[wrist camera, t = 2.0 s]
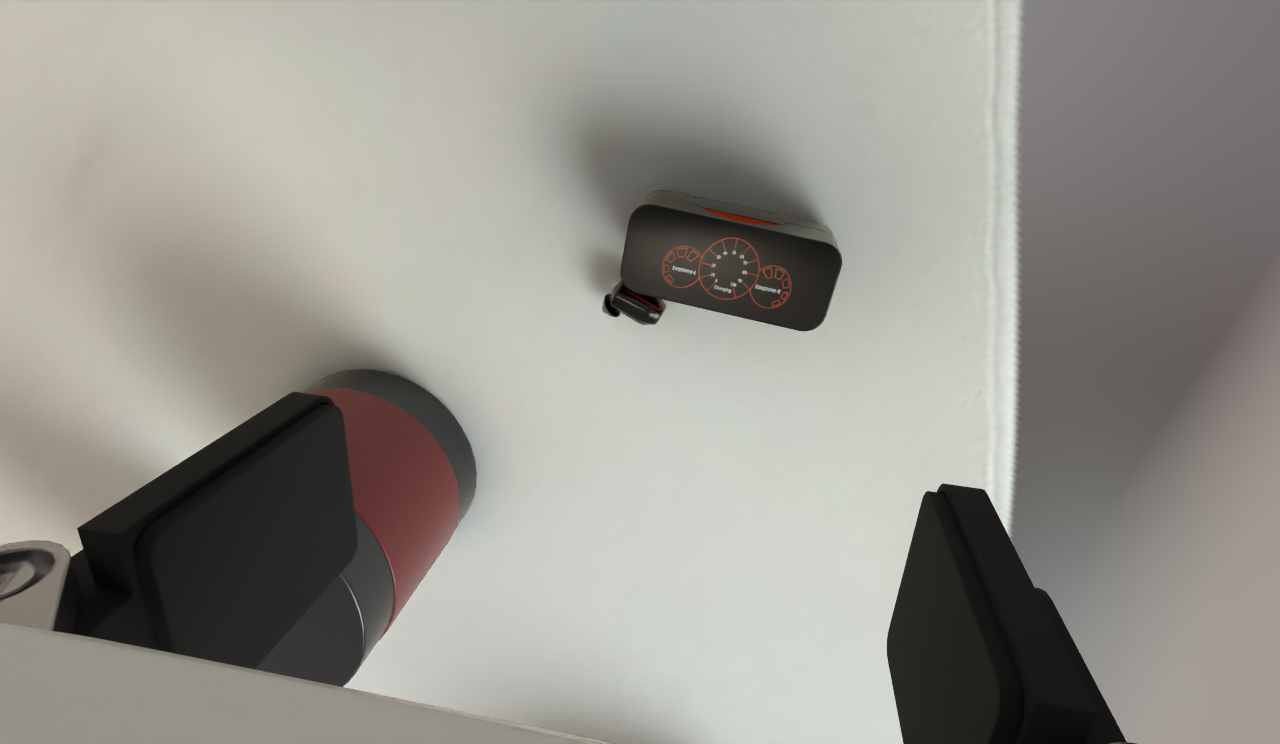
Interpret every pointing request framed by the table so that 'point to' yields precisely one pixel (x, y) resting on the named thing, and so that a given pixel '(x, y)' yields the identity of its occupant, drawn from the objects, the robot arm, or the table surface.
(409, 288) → the table surface
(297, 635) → the tin can
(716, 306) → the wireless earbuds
